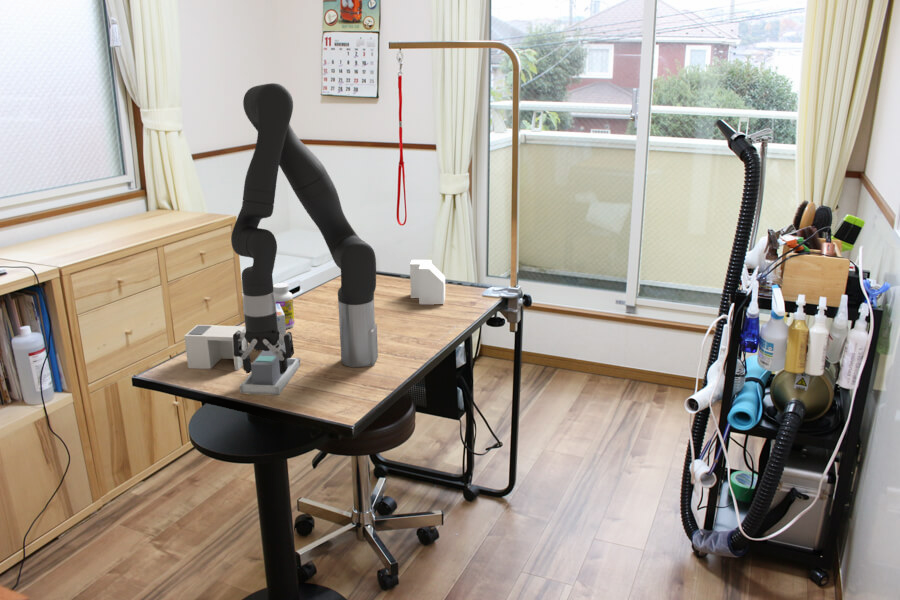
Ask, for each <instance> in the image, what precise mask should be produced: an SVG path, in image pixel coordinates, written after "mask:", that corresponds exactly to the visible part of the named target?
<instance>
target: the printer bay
mask: <svg viewBox="0 0 900 600" xmlns="http://www.w3.org/2000/svg"><path fill="white" fill-rule="evenodd" d="M238 330H239V331H241V332H244V333H246V328H245V325H243V326H242V325H216V324H215V325H212V324H211V325H210V324H196V325H195V326H194V327H192V329H191V330H189V331H188V332H187V333H185V334H184V336H183V337H184V345H185V353H186V360H187V368H188V369H203V370H206V369H207V370H211V369H212V368H213V367H214V366H215V365H216V364H217V363H219V361H220V360H221V359H230V360H231V359H232V360H233V363H234V370H235V371H238V370H241V368H243V360H242V358H241V357H235V356H234V347H233V335H234V334H235V333H236V332H237V331H238ZM248 346H249V343H248V341H247V340H246V339H245V338H244V339H243V340H242V350H243V351H245V350H246V349H247V347H248Z"/></svg>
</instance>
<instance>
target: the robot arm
mask: <svg viewBox="0 0 900 600" xmlns="http://www.w3.org/2000/svg"><path fill="white" fill-rule="evenodd" d="M242 102H243V103H242V105H243V110H244V113H245V115H246V117H247V119H248V121H249V122H250V123H251V125H252V126H253V127H254V128H255V129H256V132H257V138H256V144H255V149H254V151H253V154H252V157H251V160H250V163H249V166H248V168H247V171H246V175H245V180H244V186H243V193H242V203H241V204H242V205H241V209H240V211H239V213H238V215H237V218H236V221H235V223H234V226H233V229H232V231H231V232H232V233H231V238H230V240H231V241H230V242H231V246H232V249H233V251H234V253H235V254H237V255H238V256H241V257H245V258H251V259H252V260H253V262H252V266H248V267H245V268H244V269H243V270H242V272H241V285H242V295H243V296H242V304H243V305H242V310H243V317H244V318H243V319H244V324H245V325H244V326H245V328H246V333H244V332H241V331H239V330H238V331H237V332H236V333H235V334H234V335H233V347H234V356H235V357H241V358H242V360H243V366H242V369H243V370H244V372H245V374H250V373H251V364H252V357H251V355H250V354H251V353H252V351H253V350H255V351H256V352H257V351H258V352H262V350H264V351H269V350H271V351H272V353H273V354H275V355H276V356H277V357H278V358H279V359H280V360H279V366H280V374H284V373H285V372H286V370H287V368H288V366H287V358H293V357H292V356H293V355H294V354H295V348H294V343H293V341H294V340H293V335H292V332H291V331H287V332H286V333H285V334H280V333H279V331H278V323H277V312H276V300H275V295H274V290H273V285H274V281H273V272H274V268H275V263H276V256H277V251H278V243H277V239H276V237H275V235H274V233H272V231H270V230H269V229H265V228H260V227H259V224H260V222H261V221H262V220H263V219H268V218H270V217H271V216H272V215H273V214H274V213H273V212H274V204H275V199H276V198H275V197H276V190H277V181H278V180H277V179H278V173H279V167H280V169H281V171H282V172H283V174H284V176H285V177H286V180H287V181H288V184H289V186H290V187H291V188H292V189H291V190H293V192H294V194H295V196H296V197H297V199H298V200H299V202H300V204H301V205H302V207H303V208H304V210H305V211H306V213H307V214H308V216H309V217H310V218H311V221H313V223H314V224H315V226H316V227H317V228H318V230H319V231H320V233H321V235H322V237H323V239H324V241H325V244H326V247H327V248H328V250H329V252H330V255H331V257H332V259H333V262H334V264H335V265H336V266H337V267H338V268H339V269H340V287H339V289H338V290H337V301H338V302H337V303H338V304H337V305H338V322H339V324H338V325H339V339H340V340H339V342H340V357H341V359H340V360H341V364H342V365H344V366H346V367H350V368H365V367H368V366H375V364H376V362H377V359H378V358H379V349H378V347H379V346H378V326H377V325H378V324H377V323H376V321H375V320H376V317H375V316H376V315H375V291H376V289H377V259H376V252H375V251H374V249H373V247H372V246H371V245H370V244H368V243H367V242H366V241H364V240H362V239H361V238H360V237H359V235H358V234H357V233H356V231H355V230H354V229H353V227H352V226H351V223H350V222H349V221H348V219H347V218H346V215H345V214H344V211H343V208H342V205H341V201H340V197H339V194H338V191H337V188H336V186H335V184H334V182H333V180H332V179H331V176H330V175H329V173H328V172H327V169H326V167H325V166H324V164H323V163H322V162H321V161H320V160H319V158H318V157H317V155H315V154H314V152H312V151H311V149H309V148H308V147H307V146H306V144H304V143H303V141H301V139H300V138H299V137H298V136H297V135H296V133H295V131H294V130H293V128H292V127H291V124H290V123H291V119H292V115H293V110H294V101H293V97H292V94H291V93H290V91H289V90H288V88H287V87H285V86H283V85H282V84H280V83H273V82H272V83H265V84H259V85H255V86H252V87H251V88H249V89H248V90H247V91H246V92H245V94H244V96H243V101H242ZM244 338H245V339H246V340H247V341H248V347H247V349H246V350H245V351H243V350H242V340H243V339H244ZM279 339H281V340H282V342H283V343H285V349H286V352H285V351H284V350H283V348H282V346H281V345H280V343H279V342H278V340H279ZM275 347H276V348H275Z"/></svg>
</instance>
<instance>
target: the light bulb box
mask: <svg viewBox="0 0 900 600" xmlns="http://www.w3.org/2000/svg"><path fill="white" fill-rule="evenodd" d="M276 312H277V323H278V331H279V333H280V334H285V333H287V332H286V330H287V329H286V328H285V314H284V312H283V310H282V308H281V306H280V304H276ZM278 342H279V343H280V345H285V343H283V342H282V340H281V339H279V340H278ZM262 351H263V350H261V352H262Z"/></svg>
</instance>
